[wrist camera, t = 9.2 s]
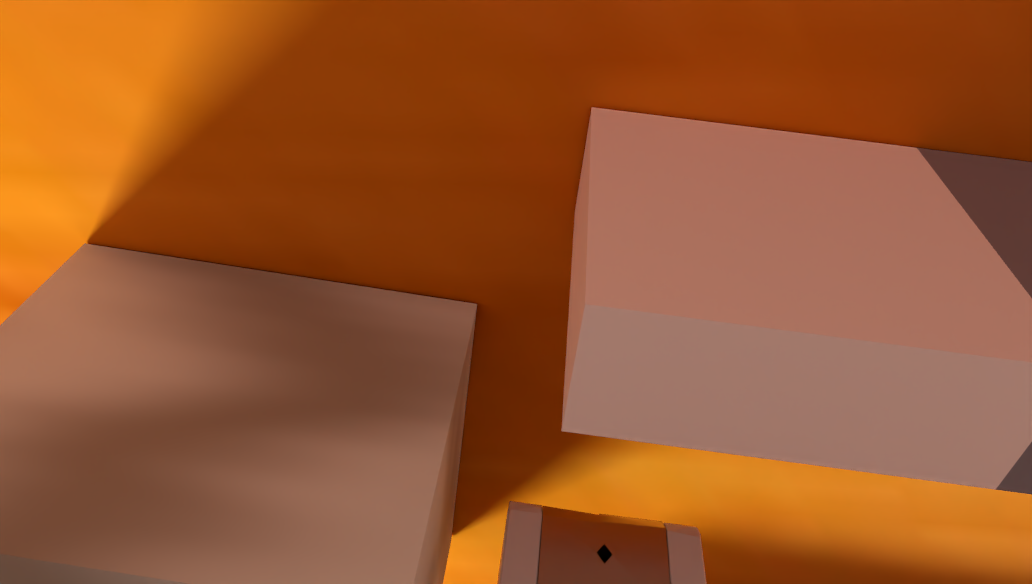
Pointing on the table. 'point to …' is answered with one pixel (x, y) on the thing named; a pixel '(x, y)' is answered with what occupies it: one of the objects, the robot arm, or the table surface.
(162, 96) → the table surface
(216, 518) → the beige block
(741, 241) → the walled channel
